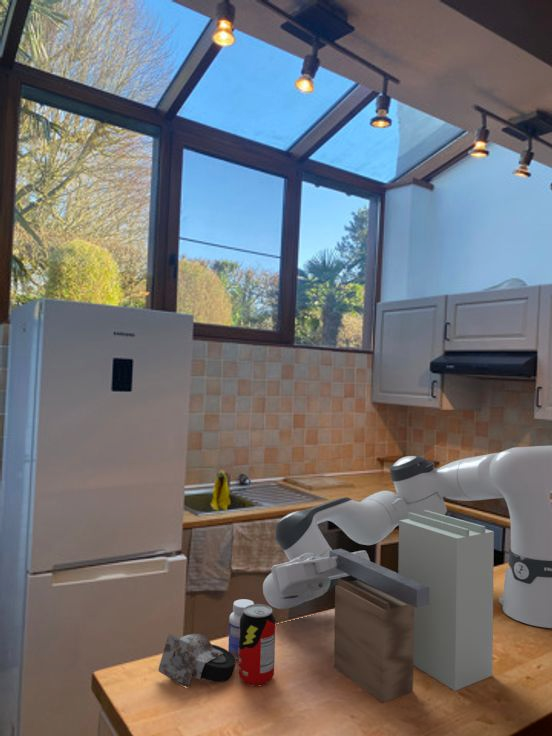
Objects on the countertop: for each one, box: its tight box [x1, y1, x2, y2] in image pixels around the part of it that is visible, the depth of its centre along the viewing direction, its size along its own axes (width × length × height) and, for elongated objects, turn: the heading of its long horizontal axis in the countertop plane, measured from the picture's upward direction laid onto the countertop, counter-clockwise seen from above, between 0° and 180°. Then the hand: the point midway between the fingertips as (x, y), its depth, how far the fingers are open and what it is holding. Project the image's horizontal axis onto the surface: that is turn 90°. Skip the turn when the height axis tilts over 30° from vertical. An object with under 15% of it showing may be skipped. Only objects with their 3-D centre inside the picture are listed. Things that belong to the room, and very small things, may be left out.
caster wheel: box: [157, 633, 237, 688], centre depth 97 cm, size 7×11×10 cm
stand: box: [397, 510, 495, 692], centre depth 102 cm, size 10×14×27 cm
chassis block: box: [333, 577, 414, 704], centre depth 97 cm, size 7×13×16 cm, turn 32°
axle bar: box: [329, 548, 429, 608], centre depth 97 cm, size 3×23×3 cm, turn 31°
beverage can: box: [238, 603, 276, 687], centre depth 96 cm, size 6×6×12 cm
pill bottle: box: [227, 598, 255, 661], centre depth 104 cm, size 5×5×10 cm
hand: (345, 559), depth 104 cm, fingers closed on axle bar, 3 cm apart
